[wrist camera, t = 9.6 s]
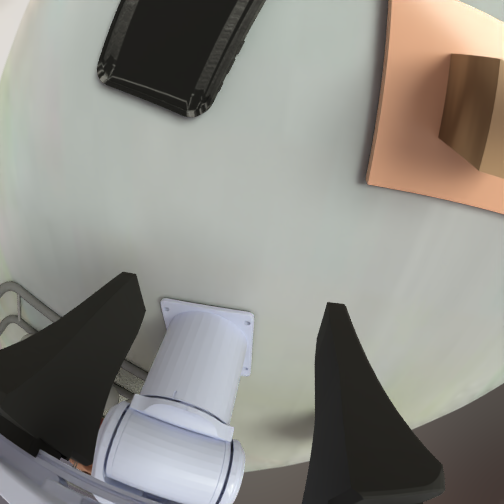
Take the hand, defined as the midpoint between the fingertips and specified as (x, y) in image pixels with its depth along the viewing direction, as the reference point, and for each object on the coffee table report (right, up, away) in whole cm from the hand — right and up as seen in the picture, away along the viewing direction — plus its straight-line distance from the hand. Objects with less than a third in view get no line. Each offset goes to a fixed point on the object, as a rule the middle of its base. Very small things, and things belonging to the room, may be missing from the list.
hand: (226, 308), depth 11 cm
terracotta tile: (+14, +10, +1) cm, 17 cm away
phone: (-2, +17, +1) cm, 17 cm away
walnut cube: (+14, +10, +1) cm, 17 cm away
